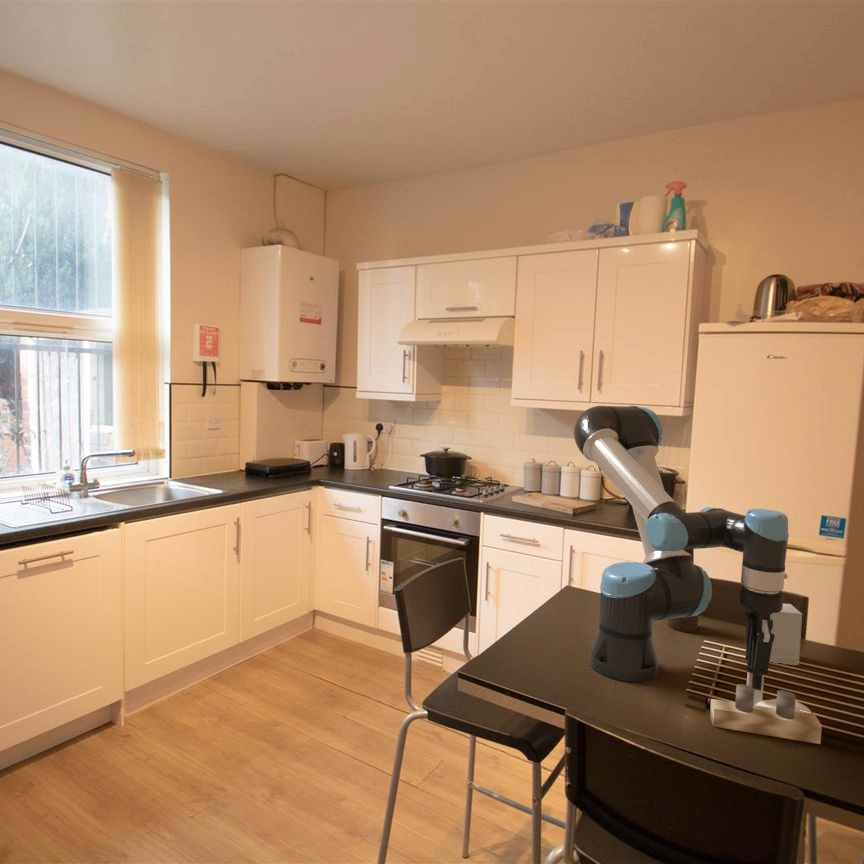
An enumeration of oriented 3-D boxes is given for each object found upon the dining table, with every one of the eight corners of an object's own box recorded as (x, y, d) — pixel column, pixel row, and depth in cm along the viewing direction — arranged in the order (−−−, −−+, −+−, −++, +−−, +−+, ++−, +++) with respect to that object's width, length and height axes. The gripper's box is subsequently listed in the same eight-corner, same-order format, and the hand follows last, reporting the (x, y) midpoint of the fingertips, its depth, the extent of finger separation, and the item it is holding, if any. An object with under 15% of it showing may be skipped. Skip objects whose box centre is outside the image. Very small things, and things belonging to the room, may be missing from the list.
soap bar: (753, 713, 122) (754, 700, 122) (788, 707, 125) (789, 694, 125) (774, 726, 117) (775, 713, 117) (810, 719, 120) (811, 706, 120)
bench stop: (713, 726, 117) (715, 688, 116) (709, 715, 121) (712, 678, 120) (820, 744, 112) (823, 704, 111) (813, 732, 116) (816, 694, 115)
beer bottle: (664, 620, 171) (669, 536, 169) (693, 623, 170) (698, 537, 168) (671, 631, 163) (676, 543, 162) (701, 634, 162) (707, 544, 161)
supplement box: (799, 666, 144) (803, 614, 143) (765, 662, 146) (769, 610, 145) (788, 653, 151) (791, 603, 151) (755, 650, 153) (758, 600, 152)
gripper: (792, 601, 115) (783, 722, 116) (774, 580, 127) (766, 689, 129) (748, 596, 117) (739, 715, 119) (734, 576, 129) (727, 684, 131)
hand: (753, 701), depth 124 cm, fingers closed
